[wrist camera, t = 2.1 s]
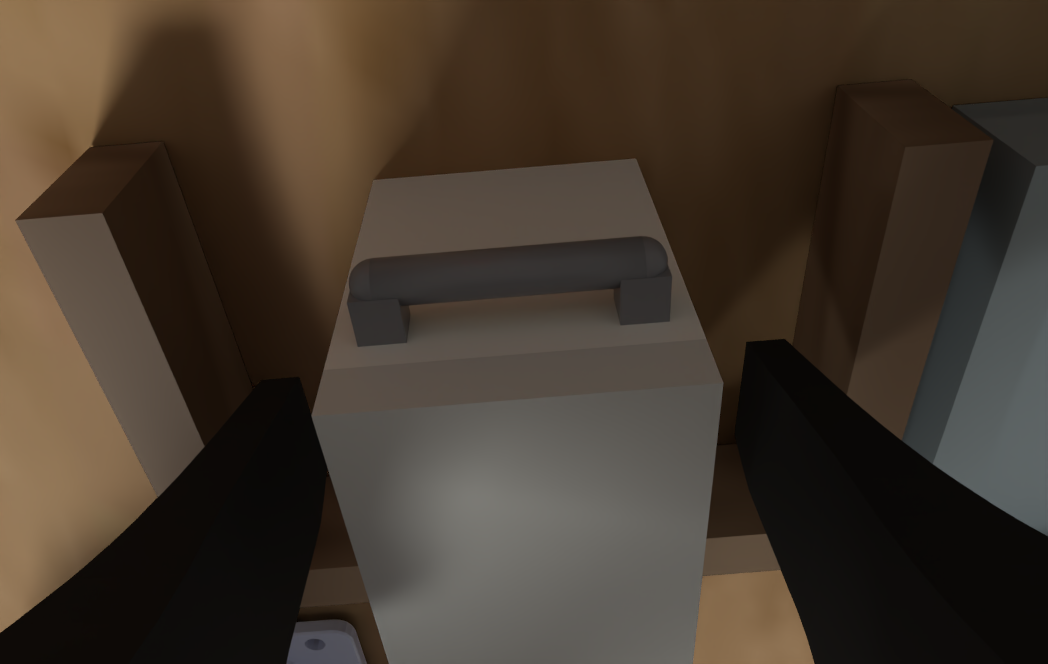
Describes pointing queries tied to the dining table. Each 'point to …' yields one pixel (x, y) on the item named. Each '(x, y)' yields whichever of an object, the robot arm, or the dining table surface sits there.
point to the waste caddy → (522, 420)
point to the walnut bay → (734, 524)
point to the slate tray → (996, 327)
